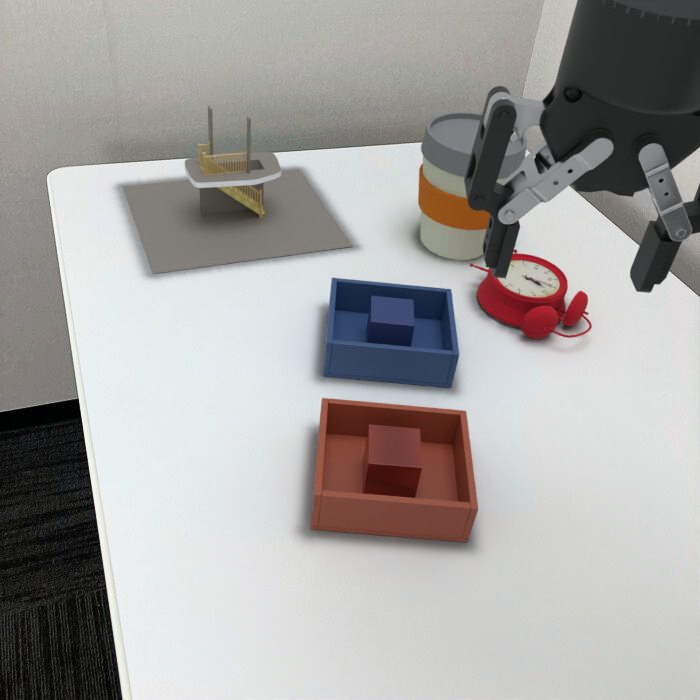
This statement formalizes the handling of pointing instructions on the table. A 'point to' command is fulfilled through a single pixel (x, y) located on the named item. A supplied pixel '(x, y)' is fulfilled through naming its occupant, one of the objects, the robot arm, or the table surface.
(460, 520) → the terracotta bin
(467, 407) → the table surface
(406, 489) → the red block
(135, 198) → the architectural model
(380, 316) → the navy block
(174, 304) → the table surface
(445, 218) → the reusable coffee cup
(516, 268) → the alarm clock
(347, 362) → the blue bin
